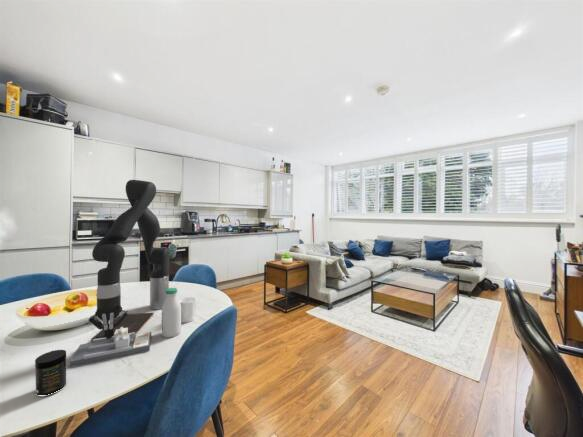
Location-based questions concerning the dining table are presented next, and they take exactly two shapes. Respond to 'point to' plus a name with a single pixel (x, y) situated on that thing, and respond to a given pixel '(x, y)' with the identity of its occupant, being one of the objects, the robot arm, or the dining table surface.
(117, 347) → the white block with rib
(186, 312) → the white cup
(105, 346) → the switch panel
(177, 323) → the milk bottle
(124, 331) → the cream tab
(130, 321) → the hardcover book
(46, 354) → the supplement container
